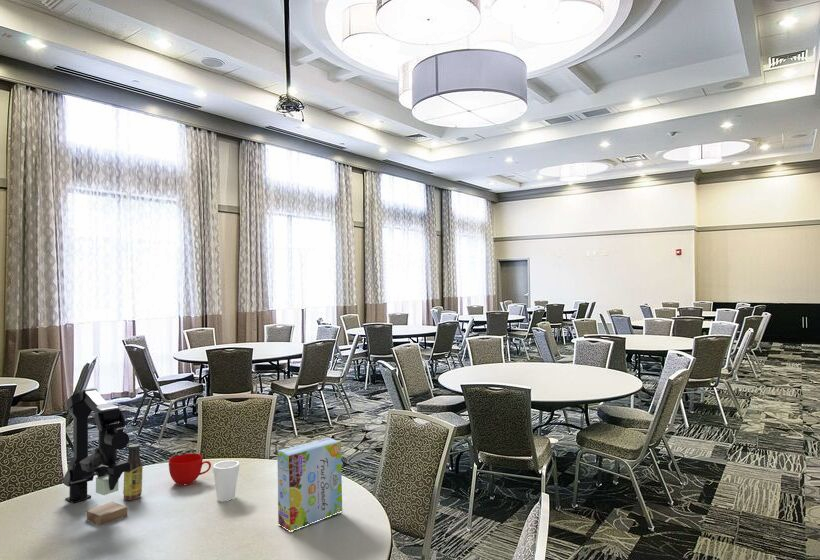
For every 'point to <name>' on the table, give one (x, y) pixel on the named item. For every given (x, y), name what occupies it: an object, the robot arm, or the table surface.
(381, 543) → the table surface
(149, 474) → the table surface
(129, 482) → the sauce bottle
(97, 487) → the sage cube
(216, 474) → the foam cup
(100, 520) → the walnut block
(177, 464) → the ceramic cup
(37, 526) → the table surface
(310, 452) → the snack box
